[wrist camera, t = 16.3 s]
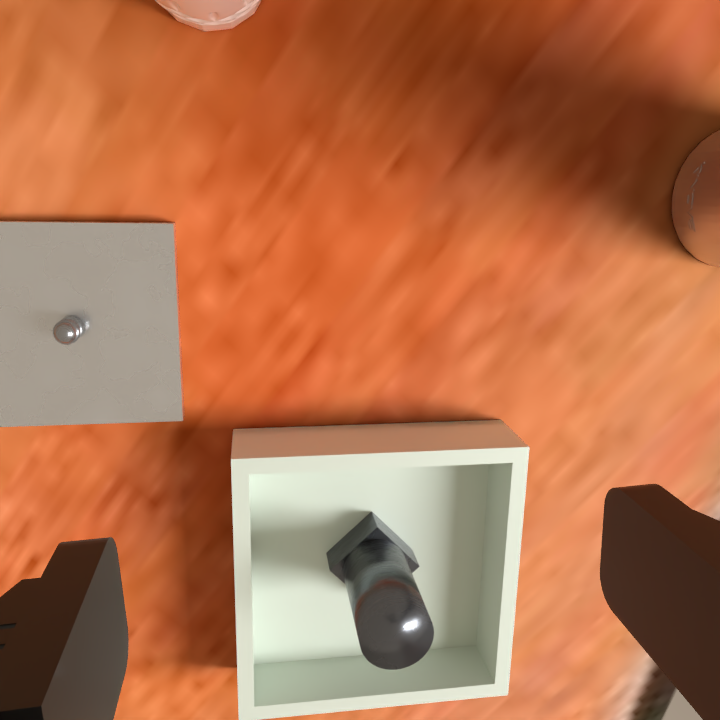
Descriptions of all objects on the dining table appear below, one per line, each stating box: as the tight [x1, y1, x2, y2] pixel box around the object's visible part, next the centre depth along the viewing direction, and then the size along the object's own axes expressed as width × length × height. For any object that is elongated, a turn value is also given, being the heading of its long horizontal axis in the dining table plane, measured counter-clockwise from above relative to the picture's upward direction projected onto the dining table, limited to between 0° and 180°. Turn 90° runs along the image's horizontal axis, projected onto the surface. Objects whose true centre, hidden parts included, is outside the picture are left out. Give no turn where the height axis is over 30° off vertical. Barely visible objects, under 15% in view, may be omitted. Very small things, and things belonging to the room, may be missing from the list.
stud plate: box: [0, 221, 184, 427], centre depth 39 cm, size 12×12×3 cm
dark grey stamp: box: [326, 511, 434, 670], centre depth 42 cm, size 4×4×9 cm
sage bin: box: [231, 420, 529, 720], centre depth 45 cm, size 18×18×5 cm
